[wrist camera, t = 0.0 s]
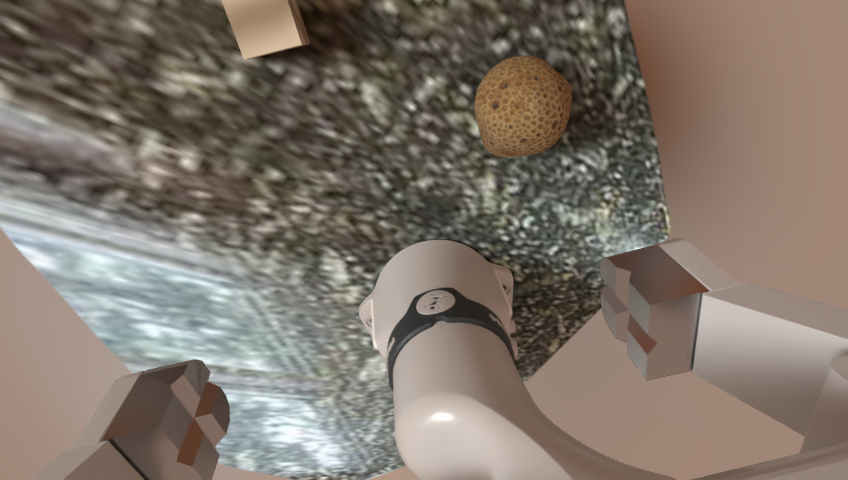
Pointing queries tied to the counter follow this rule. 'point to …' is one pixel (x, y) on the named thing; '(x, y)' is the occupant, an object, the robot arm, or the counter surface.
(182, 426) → the robot arm
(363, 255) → the counter surface
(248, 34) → the birch block
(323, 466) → the counter surface
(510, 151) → the natural sponge
